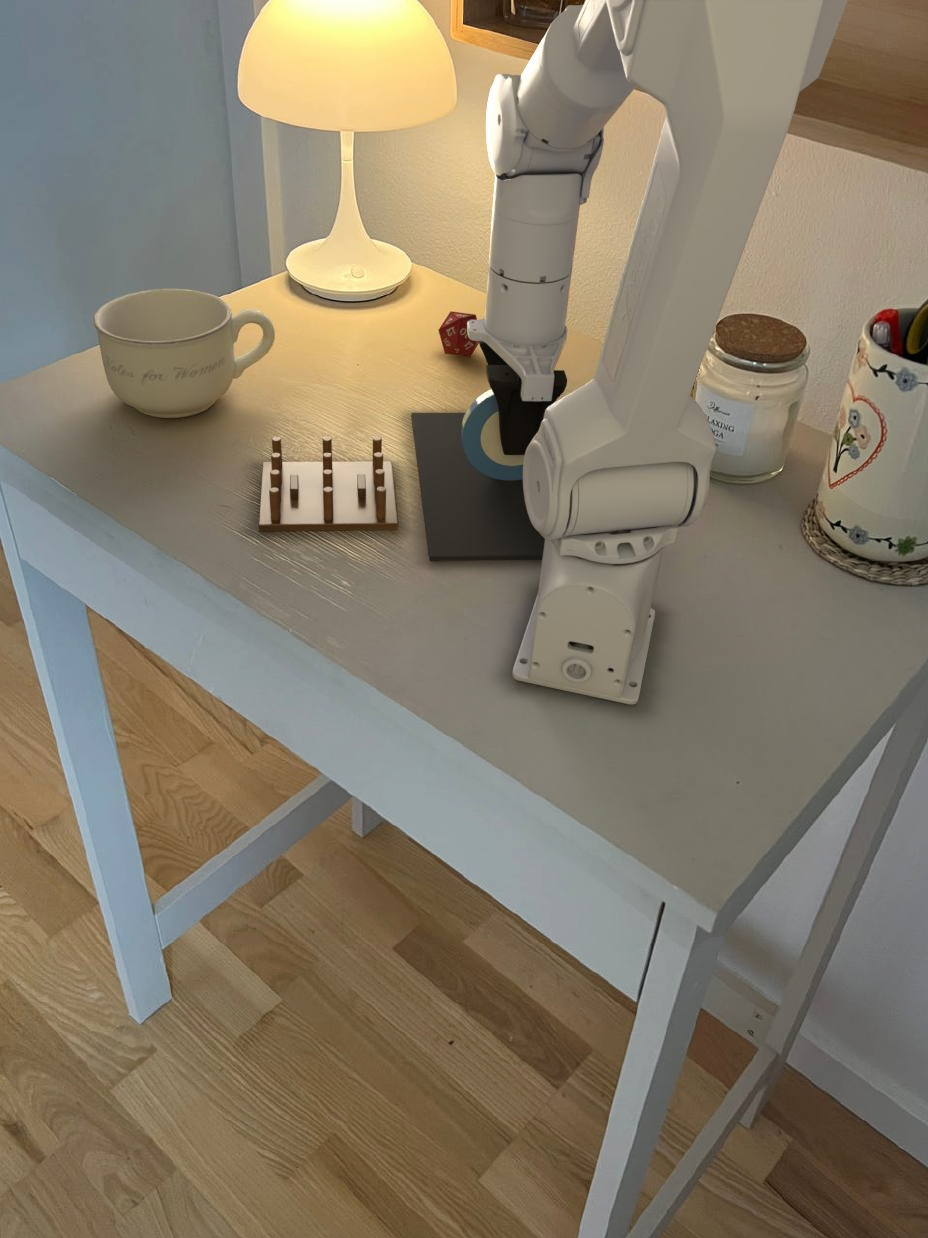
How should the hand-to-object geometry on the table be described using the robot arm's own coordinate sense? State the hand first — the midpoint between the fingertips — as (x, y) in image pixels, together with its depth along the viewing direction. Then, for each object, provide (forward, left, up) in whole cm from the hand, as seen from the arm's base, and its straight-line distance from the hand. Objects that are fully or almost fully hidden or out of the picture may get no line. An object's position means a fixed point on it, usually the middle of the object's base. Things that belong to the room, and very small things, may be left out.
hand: (513, 438), depth 86 cm
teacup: (+3, +28, -4) cm, 29 cm away
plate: (0, 0, 0) cm, 0 cm away
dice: (+19, +9, -4) cm, 22 cm away
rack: (-7, +12, -4) cm, 15 cm away
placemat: (0, 0, -4) cm, 4 cm away
